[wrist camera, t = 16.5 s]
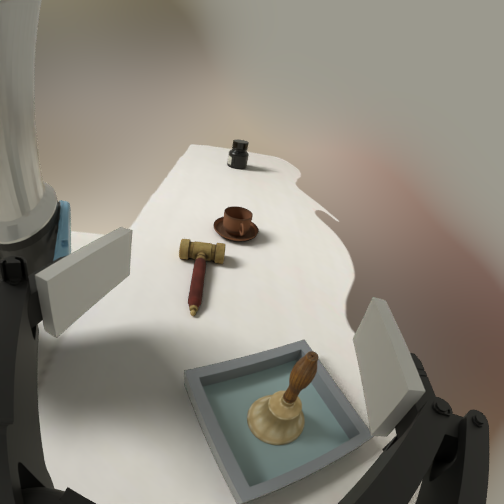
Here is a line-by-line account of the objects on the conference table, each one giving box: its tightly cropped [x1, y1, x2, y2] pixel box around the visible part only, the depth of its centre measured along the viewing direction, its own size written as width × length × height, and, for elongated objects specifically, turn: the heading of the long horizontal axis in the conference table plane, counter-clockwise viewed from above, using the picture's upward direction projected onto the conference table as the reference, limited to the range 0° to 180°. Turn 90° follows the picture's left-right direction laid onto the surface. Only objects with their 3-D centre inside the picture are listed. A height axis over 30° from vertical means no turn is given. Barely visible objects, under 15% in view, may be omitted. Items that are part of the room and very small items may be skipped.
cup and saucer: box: [214, 207, 258, 241], centre depth 77 cm, size 12×12×6 cm
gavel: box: [179, 239, 225, 316], centre depth 59 cm, size 21×5×10 cm
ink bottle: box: [227, 140, 248, 169], centre depth 125 cm, size 10×9×12 cm
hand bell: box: [247, 351, 318, 445], centre depth 31 cm, size 8×8×16 cm
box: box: [184, 340, 373, 504], centre depth 35 cm, size 20×20×4 cm
